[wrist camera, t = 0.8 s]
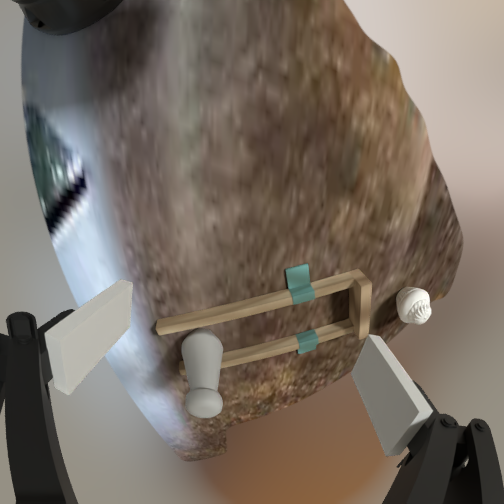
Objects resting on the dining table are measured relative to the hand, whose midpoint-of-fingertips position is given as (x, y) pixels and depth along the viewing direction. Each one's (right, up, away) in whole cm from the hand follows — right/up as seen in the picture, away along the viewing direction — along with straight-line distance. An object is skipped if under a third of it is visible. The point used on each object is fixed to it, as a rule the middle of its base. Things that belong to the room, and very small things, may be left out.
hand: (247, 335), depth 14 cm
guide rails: (+2, -6, +25) cm, 26 cm away
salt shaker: (-7, -8, +25) cm, 27 cm away
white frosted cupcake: (+26, -3, +28) cm, 38 cm away
